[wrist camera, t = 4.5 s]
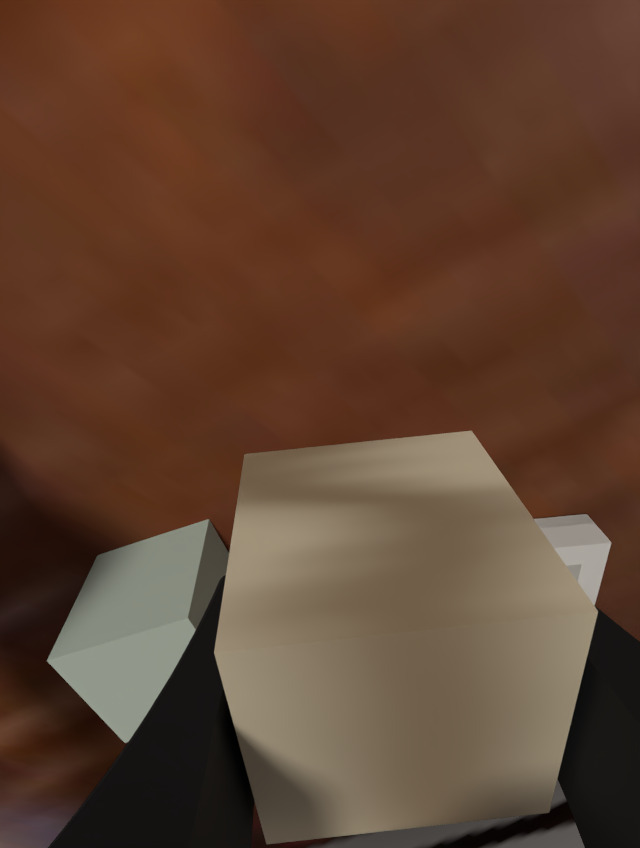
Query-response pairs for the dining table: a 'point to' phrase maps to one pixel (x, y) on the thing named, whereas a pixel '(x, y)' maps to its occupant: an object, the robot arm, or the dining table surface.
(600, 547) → the tray
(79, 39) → the dining table surface
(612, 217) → the dining table surface
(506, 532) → the maple cube
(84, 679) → the sage cube
